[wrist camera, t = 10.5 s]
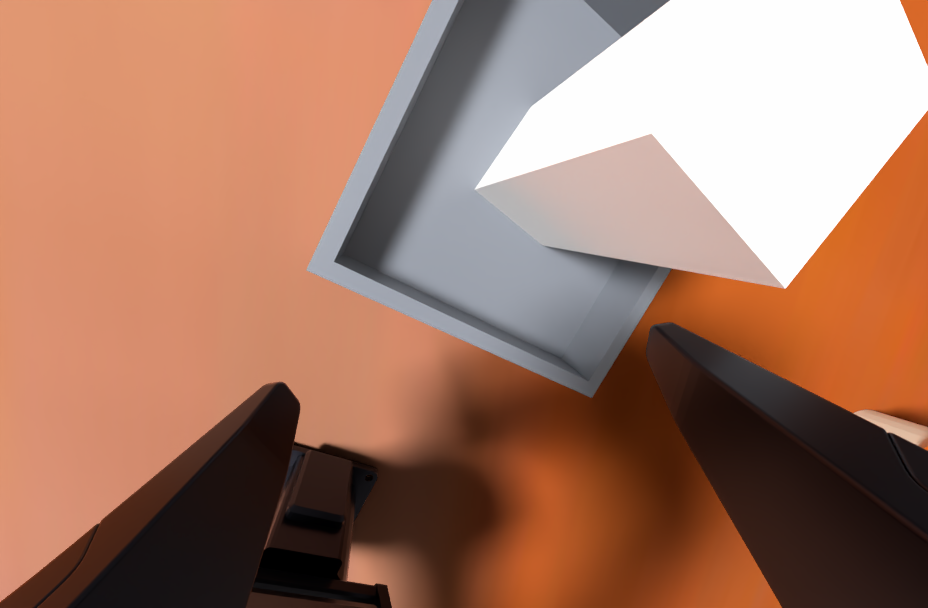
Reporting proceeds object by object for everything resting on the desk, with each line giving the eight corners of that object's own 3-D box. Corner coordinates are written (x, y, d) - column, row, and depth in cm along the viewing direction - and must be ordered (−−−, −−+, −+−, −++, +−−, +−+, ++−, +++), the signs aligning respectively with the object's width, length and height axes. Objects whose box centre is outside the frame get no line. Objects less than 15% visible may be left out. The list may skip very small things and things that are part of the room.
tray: (556, 367, 22) (591, 398, 18) (323, 258, 17) (306, 270, 13) (705, 117, 20) (779, 94, 16) (489, -91, 15) (523, -196, 11)
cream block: (542, 245, 19) (785, 288, 7) (474, 189, 17) (652, 133, 6) (595, 171, 18) (939, 94, 7) (531, 106, 17) (844, -133, 5)
